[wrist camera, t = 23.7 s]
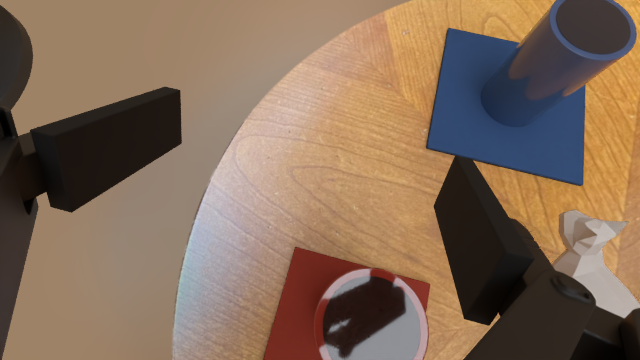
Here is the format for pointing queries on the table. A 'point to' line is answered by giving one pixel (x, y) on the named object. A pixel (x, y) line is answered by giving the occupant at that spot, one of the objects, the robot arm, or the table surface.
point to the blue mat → (491, 136)
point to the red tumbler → (369, 318)
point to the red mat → (310, 304)
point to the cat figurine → (593, 260)
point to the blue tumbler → (558, 59)
